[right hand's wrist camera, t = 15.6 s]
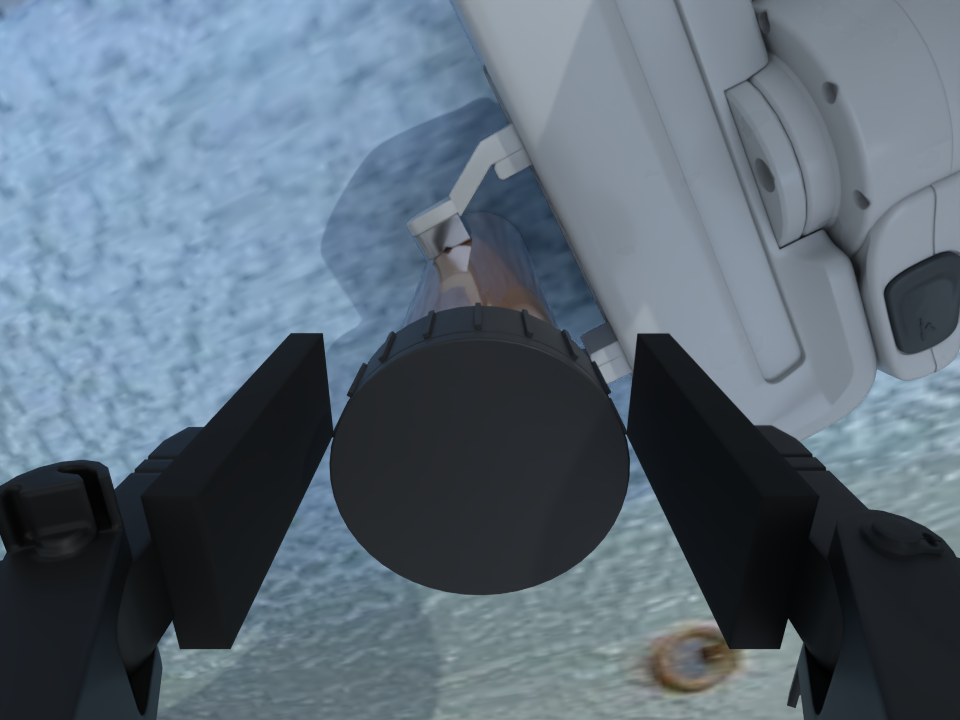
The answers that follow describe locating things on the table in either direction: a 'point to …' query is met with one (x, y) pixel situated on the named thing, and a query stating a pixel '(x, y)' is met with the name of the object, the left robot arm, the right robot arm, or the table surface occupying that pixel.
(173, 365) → the table surface
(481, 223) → the brown cylinder
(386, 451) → the lid
